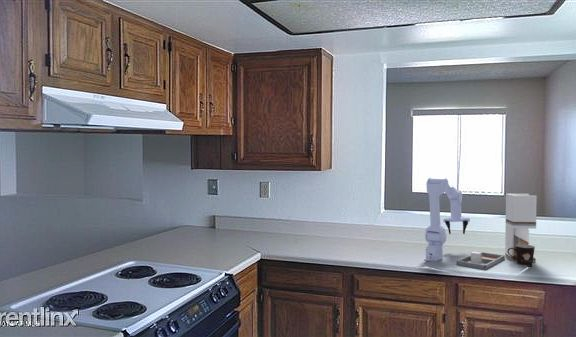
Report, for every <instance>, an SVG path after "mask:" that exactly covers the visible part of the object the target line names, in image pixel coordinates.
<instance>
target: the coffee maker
mask: <svg viewBox="0 0 576 337" xmlns="http://www.w3.org/2000/svg"><path fill="white" fill-rule="evenodd" d="M537 198H538V197H537V195H530V193H505V233H504V234H505V242H504V243H505V248H504V251H505V253H504V254H505V258H506V259H508V260H509V261H512V262H517V260H516V259H517V255H516V252H515V250H514V249H516V246H515V245H518V244H524V245H530V229H534V230H535V229H537V200H538V199H537ZM509 248H514V249H510V250H509V254H510V255H512V256H513V257H515V258H516V259H514V258H513V257H511V256H510V255H509V254H508V252H507V251H508V249H509ZM536 260H537V259H536V257H534V256H533V263H536Z"/></svg>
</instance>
